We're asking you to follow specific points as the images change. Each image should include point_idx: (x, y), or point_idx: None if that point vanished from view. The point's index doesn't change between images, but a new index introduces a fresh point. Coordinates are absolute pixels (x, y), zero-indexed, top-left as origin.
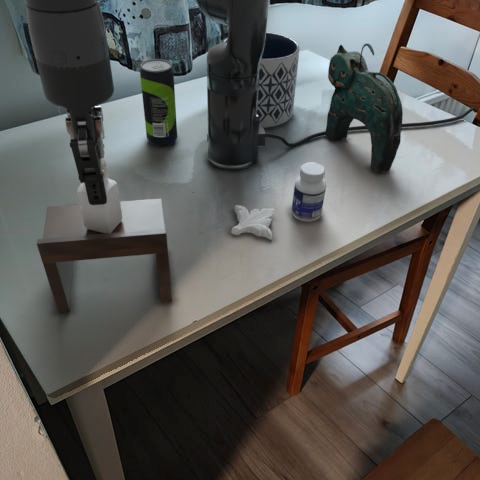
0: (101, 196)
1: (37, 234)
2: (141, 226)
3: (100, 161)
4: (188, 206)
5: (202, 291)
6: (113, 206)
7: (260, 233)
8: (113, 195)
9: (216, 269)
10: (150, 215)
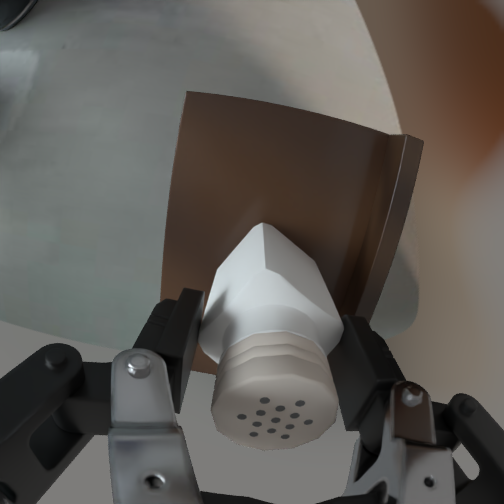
0: (387, 349)
1: (115, 313)
2: (307, 177)
3: (434, 440)
4: (94, 55)
5: (341, 84)
6: (305, 270)
7: None
8: (301, 278)
9: (292, 41)
10: (263, 139)
